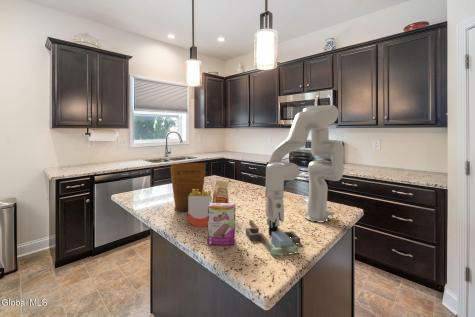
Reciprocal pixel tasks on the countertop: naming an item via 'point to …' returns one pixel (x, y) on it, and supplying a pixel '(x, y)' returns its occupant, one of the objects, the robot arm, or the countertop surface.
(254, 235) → the lane
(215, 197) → the milk carton
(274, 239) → the block
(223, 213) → the candy bar box
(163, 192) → the countertop surface
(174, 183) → the pancake mix bag
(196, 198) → the french fries container
